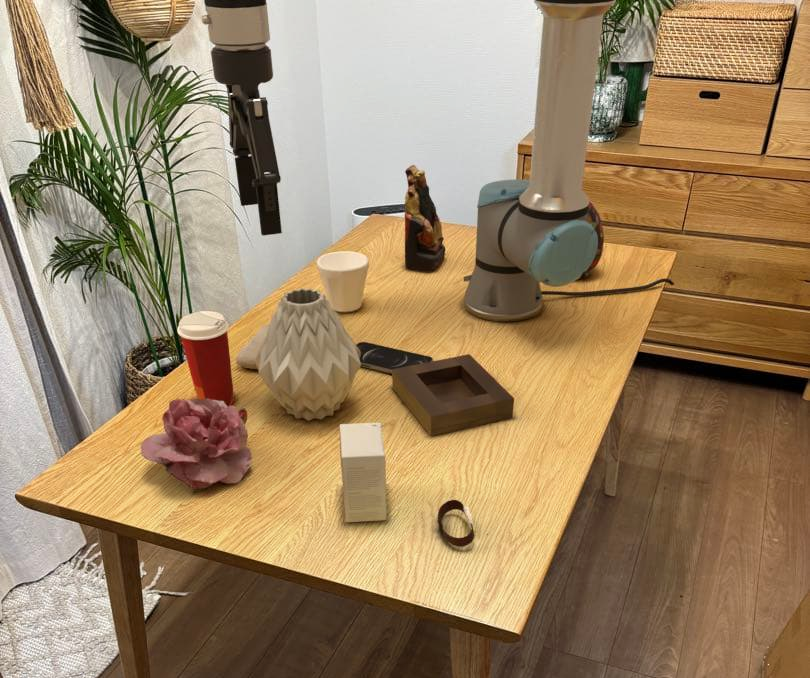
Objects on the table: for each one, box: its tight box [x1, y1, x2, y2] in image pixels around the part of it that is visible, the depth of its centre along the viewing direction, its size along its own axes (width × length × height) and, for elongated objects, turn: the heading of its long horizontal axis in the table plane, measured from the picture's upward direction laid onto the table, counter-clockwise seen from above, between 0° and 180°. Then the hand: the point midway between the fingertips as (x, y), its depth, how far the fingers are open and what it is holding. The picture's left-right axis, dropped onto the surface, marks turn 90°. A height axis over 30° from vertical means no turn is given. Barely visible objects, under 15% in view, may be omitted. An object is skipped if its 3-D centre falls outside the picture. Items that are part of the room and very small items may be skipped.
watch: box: [437, 499, 476, 548], centre depth 101 cm, size 8×5×4 cm, turn 12°
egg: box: [577, 201, 605, 280], centre depth 163 cm, size 11×11×15 cm
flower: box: [140, 397, 252, 490], centre depth 111 cm, size 15×15×10 cm
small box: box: [338, 422, 387, 523], centre depth 104 cm, size 8×6×10 cm
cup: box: [316, 250, 370, 314], centre depth 153 cm, size 10×10×9 cm
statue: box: [404, 164, 446, 273], centre depth 167 cm, size 12×8×20 cm, turn 154°
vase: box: [255, 287, 362, 421], centre depth 121 cm, size 16×16×18 cm
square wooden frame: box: [391, 353, 515, 437], centre depth 126 cm, size 14×16×4 cm
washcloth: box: [236, 322, 270, 370], centre depth 140 cm, size 12×18×3 cm, turn 164°
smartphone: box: [355, 341, 434, 374], centre depth 138 cm, size 8×1×15 cm
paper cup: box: [176, 310, 235, 407], centre depth 124 cm, size 8×8×14 cm
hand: (260, 218), depth 113 cm, fingers open, 13 cm apart
